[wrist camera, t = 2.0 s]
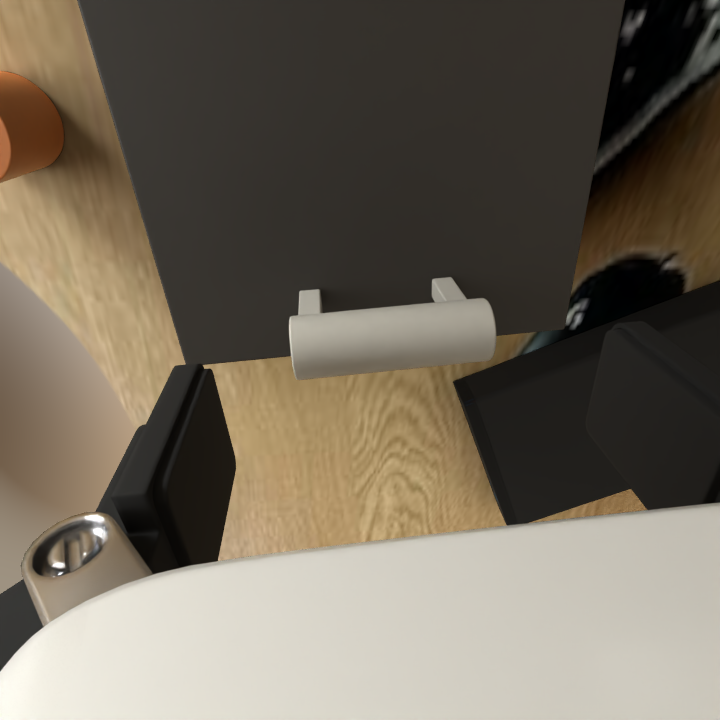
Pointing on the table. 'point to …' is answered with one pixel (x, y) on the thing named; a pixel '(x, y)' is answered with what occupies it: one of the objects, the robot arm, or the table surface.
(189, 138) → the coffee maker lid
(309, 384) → the table surface
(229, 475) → the robot arm
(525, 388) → the external hard drive
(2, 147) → the orange cylinder
